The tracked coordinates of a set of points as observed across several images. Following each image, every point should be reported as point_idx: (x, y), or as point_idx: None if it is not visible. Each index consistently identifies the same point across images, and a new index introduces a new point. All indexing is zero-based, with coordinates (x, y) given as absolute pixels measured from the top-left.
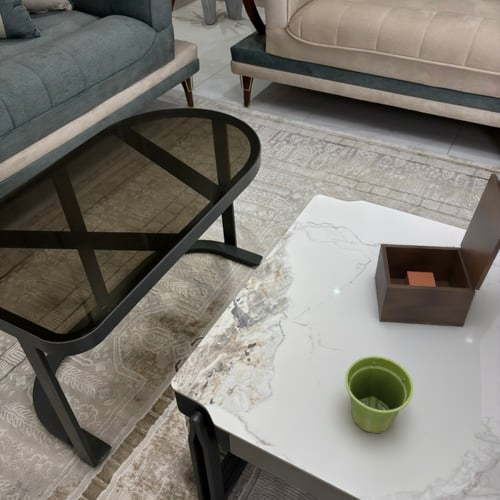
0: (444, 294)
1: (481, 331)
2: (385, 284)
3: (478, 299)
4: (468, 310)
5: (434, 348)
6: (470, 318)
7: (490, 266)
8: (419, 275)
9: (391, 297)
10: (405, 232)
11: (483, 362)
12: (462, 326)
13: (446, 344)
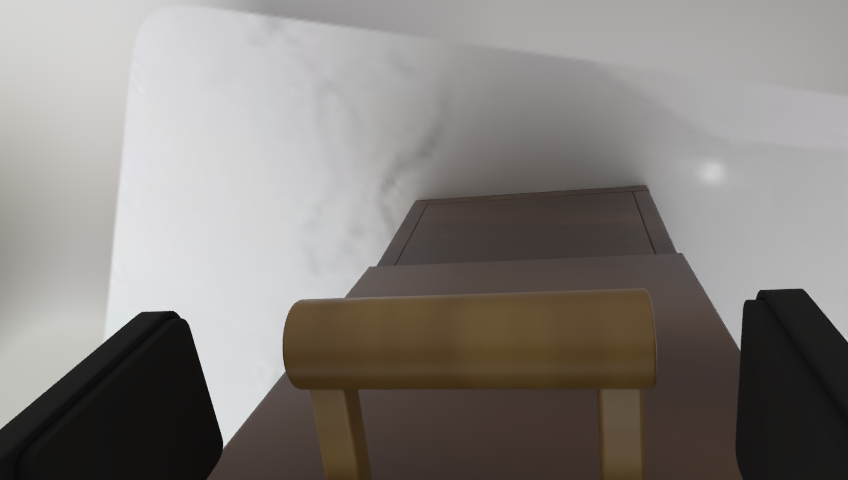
0: None
1: (664, 122)
2: None
3: (492, 111)
4: (660, 217)
5: (758, 287)
6: (599, 153)
7: (718, 317)
8: None
9: None
10: (190, 320)
11: (823, 136)
12: (647, 187)
13: (738, 248)
